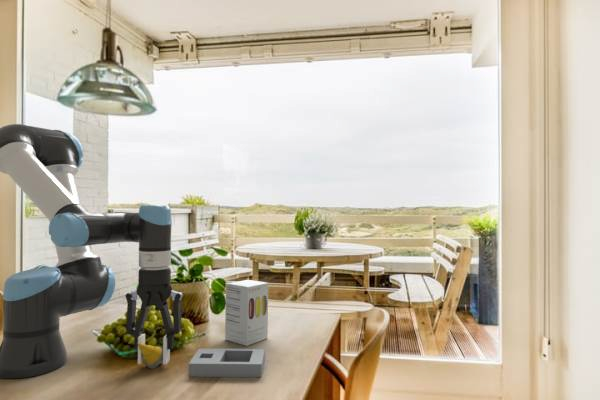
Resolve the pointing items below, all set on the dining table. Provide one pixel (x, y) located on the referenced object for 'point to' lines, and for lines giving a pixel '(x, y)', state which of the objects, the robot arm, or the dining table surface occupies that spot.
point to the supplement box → (246, 312)
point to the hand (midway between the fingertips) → (153, 361)
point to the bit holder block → (227, 363)
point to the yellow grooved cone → (151, 354)
